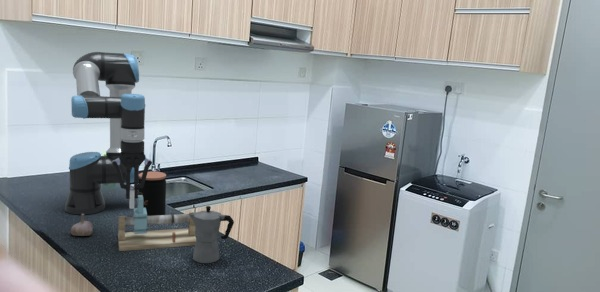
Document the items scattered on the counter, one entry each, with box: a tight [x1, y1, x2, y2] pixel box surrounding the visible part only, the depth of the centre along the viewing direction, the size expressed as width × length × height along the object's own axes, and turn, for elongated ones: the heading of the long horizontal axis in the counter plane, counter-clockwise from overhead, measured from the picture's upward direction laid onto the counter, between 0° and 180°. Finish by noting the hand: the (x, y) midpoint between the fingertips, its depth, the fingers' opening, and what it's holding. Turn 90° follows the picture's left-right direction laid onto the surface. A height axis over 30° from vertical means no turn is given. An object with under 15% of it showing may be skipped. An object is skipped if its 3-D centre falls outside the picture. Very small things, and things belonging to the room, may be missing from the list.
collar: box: [133, 195, 148, 234], centre depth 164 cm, size 7×4×12 cm, turn 22°
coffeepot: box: [188, 205, 235, 264], centre depth 156 cm, size 15×9×18 cm, turn 82°
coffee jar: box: [138, 171, 167, 216], centre depth 189 cm, size 11×11×18 cm
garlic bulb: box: [70, 214, 94, 237], centre depth 168 cm, size 8×7×8 cm
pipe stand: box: [117, 211, 197, 252], centre depth 167 cm, size 13×26×10 cm, turn 112°
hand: (131, 207), depth 162 cm, fingers closed
